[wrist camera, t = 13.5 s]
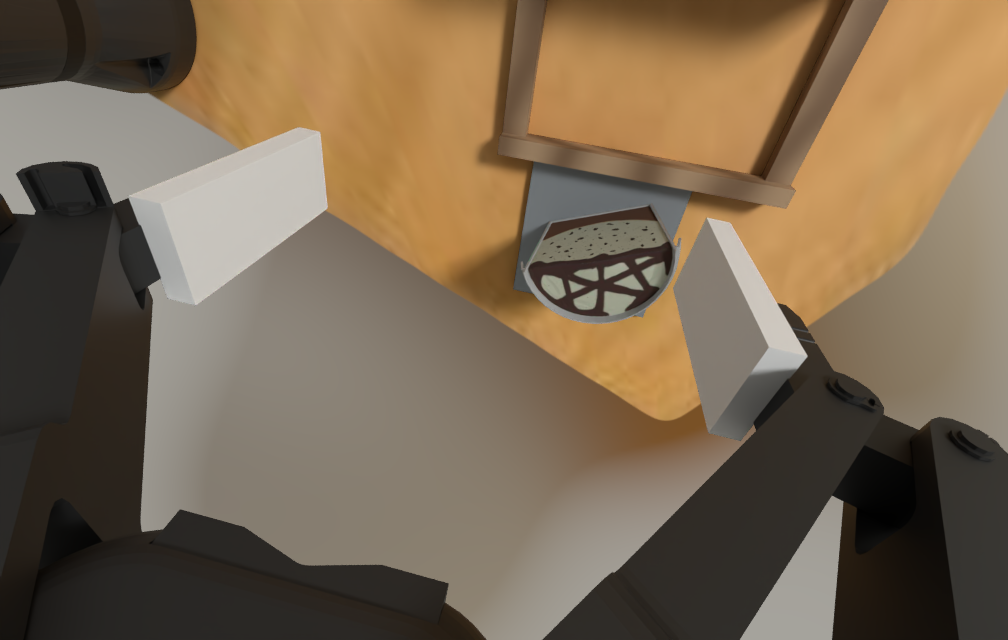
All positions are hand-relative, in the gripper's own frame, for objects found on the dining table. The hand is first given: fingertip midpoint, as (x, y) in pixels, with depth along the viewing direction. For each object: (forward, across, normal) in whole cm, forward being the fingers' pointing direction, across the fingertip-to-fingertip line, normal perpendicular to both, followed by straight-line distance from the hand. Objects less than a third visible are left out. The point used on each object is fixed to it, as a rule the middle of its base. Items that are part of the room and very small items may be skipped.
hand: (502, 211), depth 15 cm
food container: (+26, +7, -12) cm, 29 cm away
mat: (+26, +6, -12) cm, 29 cm away
